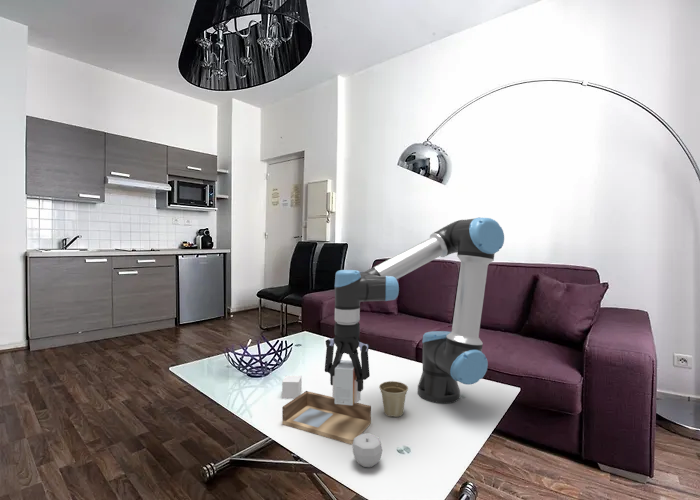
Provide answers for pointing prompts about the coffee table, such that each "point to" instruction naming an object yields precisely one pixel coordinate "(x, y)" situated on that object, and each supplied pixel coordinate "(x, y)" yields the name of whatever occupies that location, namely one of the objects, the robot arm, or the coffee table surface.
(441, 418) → the coffee table surface
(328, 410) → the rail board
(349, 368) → the small box
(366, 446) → the apple
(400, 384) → the flower pot
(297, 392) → the white cube
